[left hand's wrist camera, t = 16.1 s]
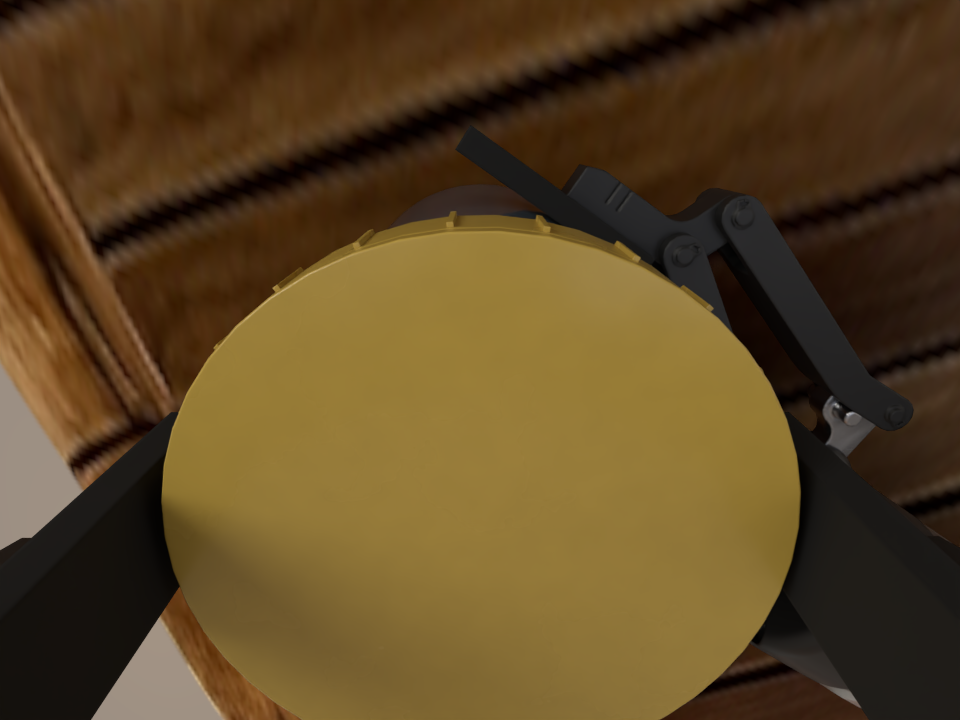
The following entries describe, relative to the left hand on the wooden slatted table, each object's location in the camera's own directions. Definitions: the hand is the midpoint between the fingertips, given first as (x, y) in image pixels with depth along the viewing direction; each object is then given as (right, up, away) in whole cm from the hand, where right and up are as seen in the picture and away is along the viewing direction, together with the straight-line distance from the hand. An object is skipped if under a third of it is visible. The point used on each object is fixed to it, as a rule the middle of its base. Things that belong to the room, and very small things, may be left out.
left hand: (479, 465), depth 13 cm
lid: (0, -1, -2) cm, 3 cm away
